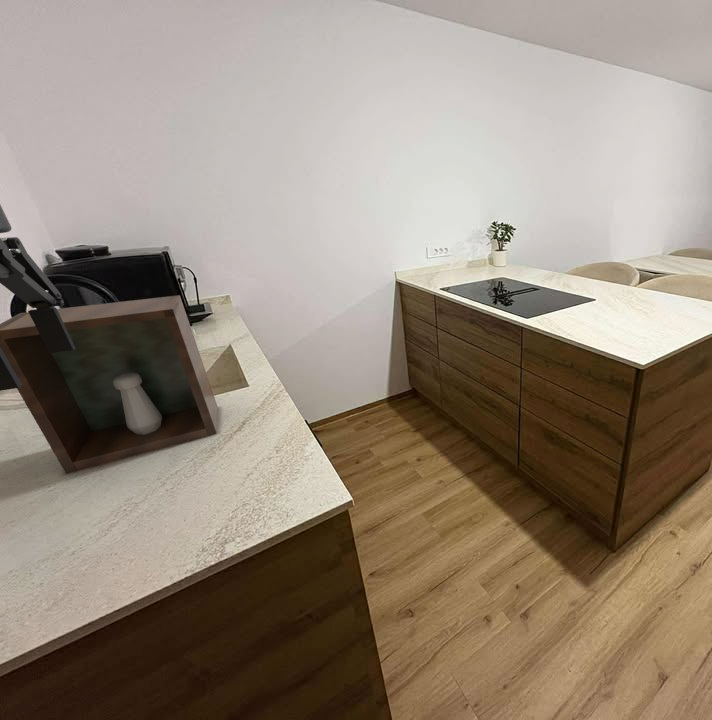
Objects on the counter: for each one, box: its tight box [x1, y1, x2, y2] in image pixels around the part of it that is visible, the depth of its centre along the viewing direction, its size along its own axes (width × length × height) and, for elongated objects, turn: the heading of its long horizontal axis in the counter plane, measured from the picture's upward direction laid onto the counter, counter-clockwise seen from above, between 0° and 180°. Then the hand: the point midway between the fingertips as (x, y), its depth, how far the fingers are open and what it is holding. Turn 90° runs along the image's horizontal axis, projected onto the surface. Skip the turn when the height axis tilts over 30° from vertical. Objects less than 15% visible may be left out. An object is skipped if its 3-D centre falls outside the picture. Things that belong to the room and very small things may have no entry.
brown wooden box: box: [0, 294, 219, 475], centre depth 76 cm, size 24×13×28 cm, turn 122°
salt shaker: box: [113, 373, 162, 435], centre depth 78 cm, size 6×6×13 cm
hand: (37, 368), depth 51 cm, fingers open, 13 cm apart
